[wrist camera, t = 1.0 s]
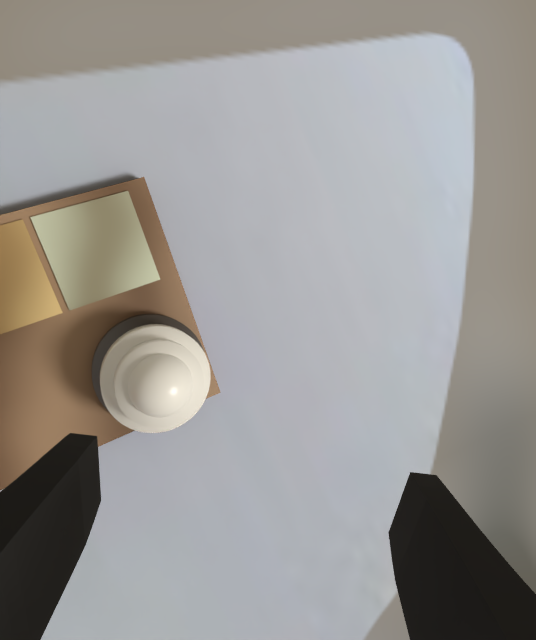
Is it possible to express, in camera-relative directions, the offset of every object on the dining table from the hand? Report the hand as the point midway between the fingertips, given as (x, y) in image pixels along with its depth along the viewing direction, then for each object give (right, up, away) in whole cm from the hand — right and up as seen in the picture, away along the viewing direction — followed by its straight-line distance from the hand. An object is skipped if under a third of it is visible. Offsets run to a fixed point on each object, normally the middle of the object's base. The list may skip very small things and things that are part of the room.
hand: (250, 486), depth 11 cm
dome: (-5, +1, +10) cm, 11 cm away
